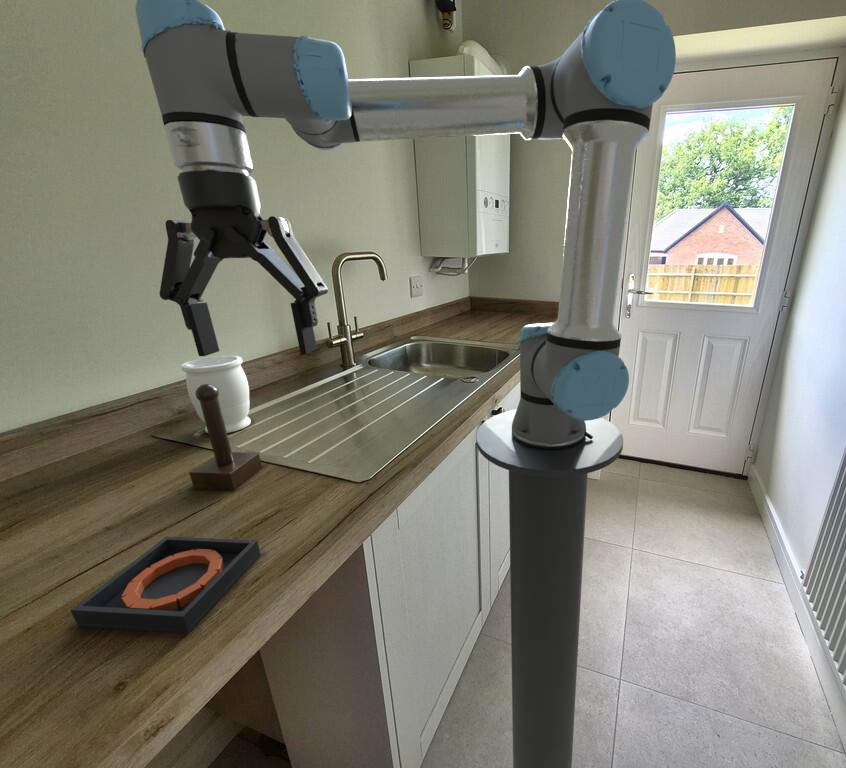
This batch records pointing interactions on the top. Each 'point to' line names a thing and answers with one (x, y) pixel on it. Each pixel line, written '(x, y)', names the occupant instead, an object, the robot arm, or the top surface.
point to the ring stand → (221, 449)
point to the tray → (167, 587)
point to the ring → (182, 598)
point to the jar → (221, 387)
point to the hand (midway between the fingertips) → (259, 353)
